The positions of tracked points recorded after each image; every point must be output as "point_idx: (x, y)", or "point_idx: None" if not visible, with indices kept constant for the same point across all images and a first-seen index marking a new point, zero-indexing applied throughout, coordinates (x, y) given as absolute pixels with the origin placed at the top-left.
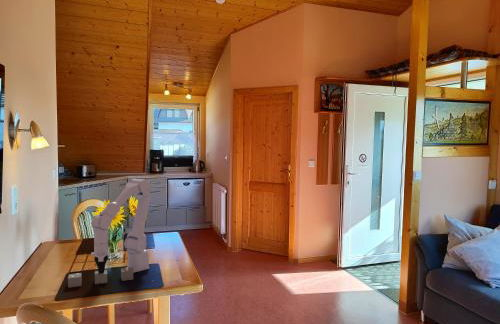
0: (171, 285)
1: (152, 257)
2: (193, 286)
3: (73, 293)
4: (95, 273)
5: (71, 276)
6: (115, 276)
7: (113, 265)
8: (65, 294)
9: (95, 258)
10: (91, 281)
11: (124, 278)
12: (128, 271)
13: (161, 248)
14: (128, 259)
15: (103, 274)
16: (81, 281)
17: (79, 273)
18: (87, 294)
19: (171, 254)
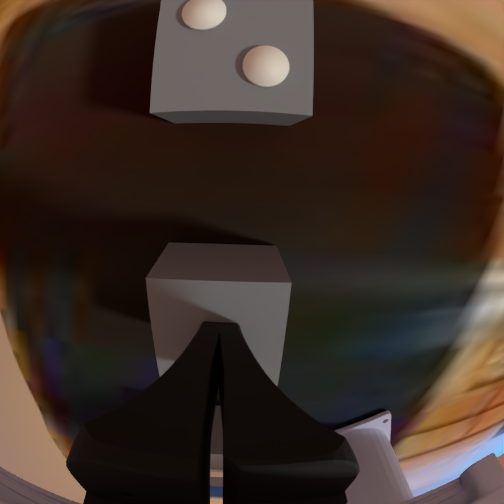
0: None
1: (431, 460)
2: None
3: (49, 90)
4: (205, 287)
5: (198, 5)
6: (291, 380)
7: (474, 349)
8: (58, 41)
9: (114, 476)
10: (260, 213)
11: None
12: None
13: (475, 454)
14: (360, 486)
15: (156, 354)
16: (278, 124)
17: (299, 91)
18: (9, 193)
19: None
